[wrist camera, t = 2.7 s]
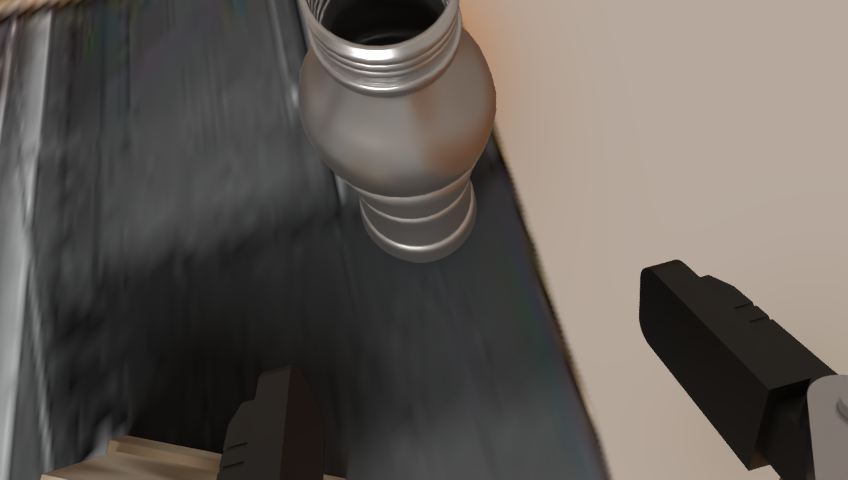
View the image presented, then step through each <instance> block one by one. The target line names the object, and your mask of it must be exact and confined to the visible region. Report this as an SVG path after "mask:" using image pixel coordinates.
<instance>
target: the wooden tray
mask: <svg viewBox="0 0 848 480" xmlns="http://www.w3.org/2000/svg"><path fill="white" fill-rule="evenodd" d="M221 456H222V454H219V453H214V452H208V451H203V450H198V449H193V448H188V447H183V446H178V445H173V444H168V443H163V442H158V441H153V440H148V439H143V438H137V437H132V436H123V437H120V438H116V439H112V440H110V441H109V445H108V448H107V452H106V455H103V456H100V457H96V458H93V459H90V460H87V461H84V462H80V463H77V464H74V465H71V466H67V467H64V468H61V469H58V470H55V471H51V472H48V473H45V474H42V476H41V480H216V479H217V474H218V473H219V472H220V470H219V465H220V461H221ZM323 480H346V479H345V478H340V477H335V476H330V475H325V474H324V478H323Z"/></svg>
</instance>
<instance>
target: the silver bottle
mask: <svg viewBox="0 0 848 480" xmlns="http://www.w3.org/2000/svg"><path fill="white" fill-rule="evenodd" d="M299 1H300V7H301V10H302V12H303V15H304V17H305V20H306V22H307V29H308V36H309V40H310V42H311V47H310V49H309V51H308V52H307V54H306V56H305V58H304V61H303V65H302V68H301V71H300V77H299V109H300V116H301V122H302V125H303V128H304V130H305V133H306V136H307V138H308V140H309V142H310V143H311V145H312V146H313V148H314V149H315V151H316V153H317V154H318V155H319V156H320V157H321V158H322V160H323V161H324V162H325V163H326V164H327V165H328V166H329V167H330V168H331V169H332V170H333V171H334V172H335V173H336V174H337V176H339V177H340V178H341V179H343V180H344V181H345V182H346V183H348V184H349V185H350V186H351V187H352V188H354V189H355V191H356V192H357V193H358V195H359V204H360V210H361V216H362V221H363V224H364V226H365V229H366V231H367V232H368V234H369V236H370V237H371V239H372V240H373V241H374V242H375V243H376V244H377V245H378V246H379V247H380V248H381V249H382V250H384V251H385V252H387V253H388V254H390V255H392V256H394V257H397V258H399V259H402V260H406V261H410V262H419V263H425V262H432V261H436V260H439V259H442V258H444V257H446V256H448V255H449V254H451V253H453V252H454V251H456V250H457V249H458V248H459V247H460V246H461V245H462V244H463V243H464V242H465V241H466V239H467V238H468V236H469V235H470V233H471V231H472V229H473V226H474V224H475V219H476V214H477V202H476V198H475V193H474V189H473V185H472V183H471V180H470V175H471V172H472V169H473V168H474V166H475V164H476V162H477V161H478V159H479V157H480V156H481V154H482V152H483V150H484V148H485V146H486V143H487V141H488V139H489V136H490V133H491V130H492V128H493V123H494V118H495V114H496V91H495V87H494V83H493V78H492V75H491V72H490V70H489V67H488V64H487V62H486V60H485V57H484V56H483V53H482V51H481V49H480V47H479V46H478V44H477V43H476V42H475V41H474V39H473V38H472V36H471V35H470V34H469V33H468V32H467V31H466V30H465V29H464V28H463V27H462V26H461V12H460V7H459V0H299Z"/></svg>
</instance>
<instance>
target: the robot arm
mask: <svg viewBox="0 0 848 480" xmlns="http://www.w3.org/2000/svg"><path fill="white" fill-rule="evenodd" d="M639 321H640V326H641V330H642V333H643V335H644V337H645V339H646V341H647V342H648V344H649V345H650V347H651V348H652V349H653V350H654V352H655V353H656V354H657V356H658V357H659V358H660V359H661V361H662V362H663V363H664V364H665V366H666V367H667V368H668V369H669V371H670V372H671V373H672V374H673V375H674V377H675V378H676V379H677V381H678V382H679V383H680V385H681V386H682V387H683V388H684V390H685V391H686V392H687V393H688V395H689V396H690V397H691V398H692V400H693V401H694V402H695V403H696V405H697V406H698V407H699V409H700V410H701V411H702V412H703V414H704V415H705V416H706V417H707V419H708V420H709V421H710V422H711V424H712V425H713V426H714V428H715V429H716V430H717V431H718V433H719V434H720V435H721V436H722V438H723V439H724V440H725V441H726V443H727V444H728V445H729V446H730V448H731V449H732V450H733V451H734V453H735V454H736V455H737V457H738V458H739V459H740V460H741V462H742V463H743V464H744V465H745V467H746V468H747V469H748V470H753V469H756V468H759V467H763V466H767V465H771V466H772V467H773V469H774V470H775V471H776V472H777V473H778V475H779V476H780V479H779V480H848V375H838V374H837V373H836V372H834V371H833V370H832V369H831V368H829V367H828V366H827V365H826V364H825V363H823V362H822V361H821V360H820V359H819V358H818V357H816V356H815V355H814V354H813V353H812V352H811V351H809V350H808V349H807V348H806V347H804V345H802V344H801V343H800V342H799V341H798V340H796V339H795V338H794V337H793V336H792V335H791V334H789V333H788V332H787V331H786V330H785V329H783V328H782V327H781V326H780V325H779V324H778V323H776V322H775V321H774V320H773V319H772V320H770V319H769V316H768V315H767V314H766V313H764V312H763V311H762V310H761V309H760V308H759V307H758V306H754V305H753V302H752V301H751V300H749V299H748V298H747V297H746V296H745V295H743V294H742V293H741V292H740V291H739V290H738V289H736V288H735V287H734V286H732V285H730V284H728V283H725V282H723V281H721V280H719V279H716V278H714V277H712V276H710V275H707V276H703V277H699V276H698V275H697V274H696V273H694V272H693V271H692V270H691V269H690V268H689V267H688V266H687V265H686V264H684V263H683V262H682V261H680V260H673V261H670V262H666V263H662V264H658V265H654V266H651V267H647V268H644V269H643V270H642V272H641V277H640V306H639ZM223 450H224V453H222V456H221V461H220V465H219V470H220V472H219V473H218V474H217V479H216V480H323V478H324V425H323V419H322V415H321V412H320V409H319V406H318V404H317V402H316V400H315V398H314V396H313V394H312V393H311V391H310V389H309V387H308V385H307V383H306V381H305V379H304V377H303V375H302V373H301V371H300V369H299V367H298V366H297V365H296V364H291V365H288V366H284V367H281V368H277V369H273V370H270V371H266V372H262V373H261V374H260V376H259V379H258V384H257V390H256V396H255V400H251V401H247V402H244V403H242V404H241V405H240V407H239V409H238V410H237V412H236V413H235V415H234V417H233V418H232V420H231V422H230V423H229V425H228V428H227V433H226V438H225V442H224V447H223Z"/></svg>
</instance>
